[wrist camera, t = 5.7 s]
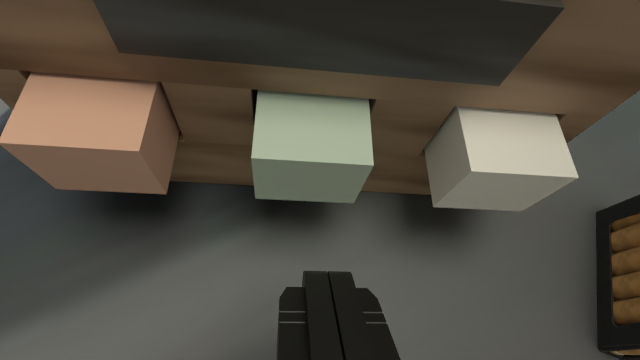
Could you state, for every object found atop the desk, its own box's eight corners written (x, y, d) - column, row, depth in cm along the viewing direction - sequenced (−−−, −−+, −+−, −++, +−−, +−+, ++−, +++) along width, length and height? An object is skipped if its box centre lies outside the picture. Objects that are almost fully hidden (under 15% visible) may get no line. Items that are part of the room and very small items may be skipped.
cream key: (420, 127, 23) (452, 79, 19) (500, 132, 23) (546, 87, 20) (432, 207, 20) (471, 171, 16) (521, 211, 21) (578, 177, 17)
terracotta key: (87, 102, 21) (44, 43, 17) (184, 109, 21) (164, 53, 17) (56, 189, 18) (-3, 142, 14) (166, 194, 19) (138, 151, 15)
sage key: (262, 115, 22) (260, 62, 18) (349, 121, 22) (366, 71, 18) (255, 198, 19) (251, 158, 15) (353, 203, 20) (373, 165, 16)
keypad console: (107, 101, 28) (-120, -253, 12) (475, 128, 31) (695, -120, 15) (80, 181, 24) (-279, -150, 8) (492, 202, 28) (793, -9, 12)
